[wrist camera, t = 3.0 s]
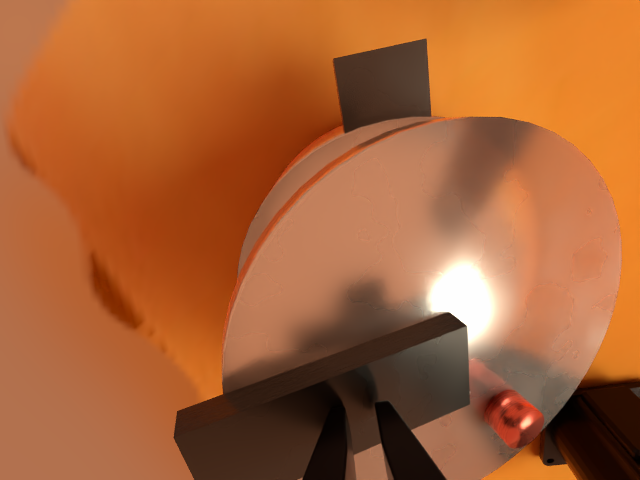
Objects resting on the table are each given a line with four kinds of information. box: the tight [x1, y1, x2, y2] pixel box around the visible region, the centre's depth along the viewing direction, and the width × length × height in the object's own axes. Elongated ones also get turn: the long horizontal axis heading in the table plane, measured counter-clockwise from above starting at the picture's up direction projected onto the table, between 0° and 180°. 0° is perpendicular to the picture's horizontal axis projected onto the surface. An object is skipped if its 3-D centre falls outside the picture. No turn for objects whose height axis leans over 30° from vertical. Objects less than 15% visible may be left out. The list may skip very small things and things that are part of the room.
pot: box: [237, 39, 445, 279], centre depth 16 cm, size 18×14×5 cm
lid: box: [174, 117, 622, 480], centre depth 11 cm, size 14×15×2 cm
